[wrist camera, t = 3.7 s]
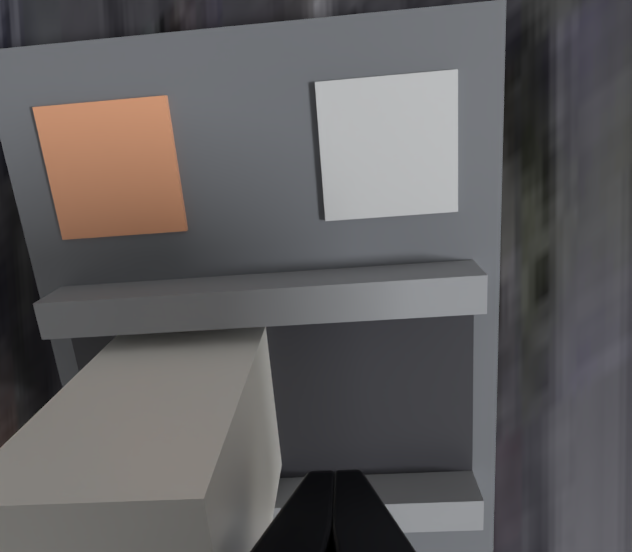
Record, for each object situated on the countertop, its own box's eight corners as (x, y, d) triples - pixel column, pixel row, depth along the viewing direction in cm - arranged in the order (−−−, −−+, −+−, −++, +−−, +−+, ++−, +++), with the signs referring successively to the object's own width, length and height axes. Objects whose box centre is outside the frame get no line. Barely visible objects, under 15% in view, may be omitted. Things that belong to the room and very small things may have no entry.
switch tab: (281, 464, 11) (240, 710, 6) (145, 469, 11) (10, 713, 7) (265, 326, 10) (203, 497, 5) (117, 334, 10) (-63, 508, 6)
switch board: (466, 559, 15) (503, 688, 11) (160, 567, 15) (111, 692, 12) (469, 26, 11) (528, -17, 7) (54, 65, 11) (-66, 42, 8)
